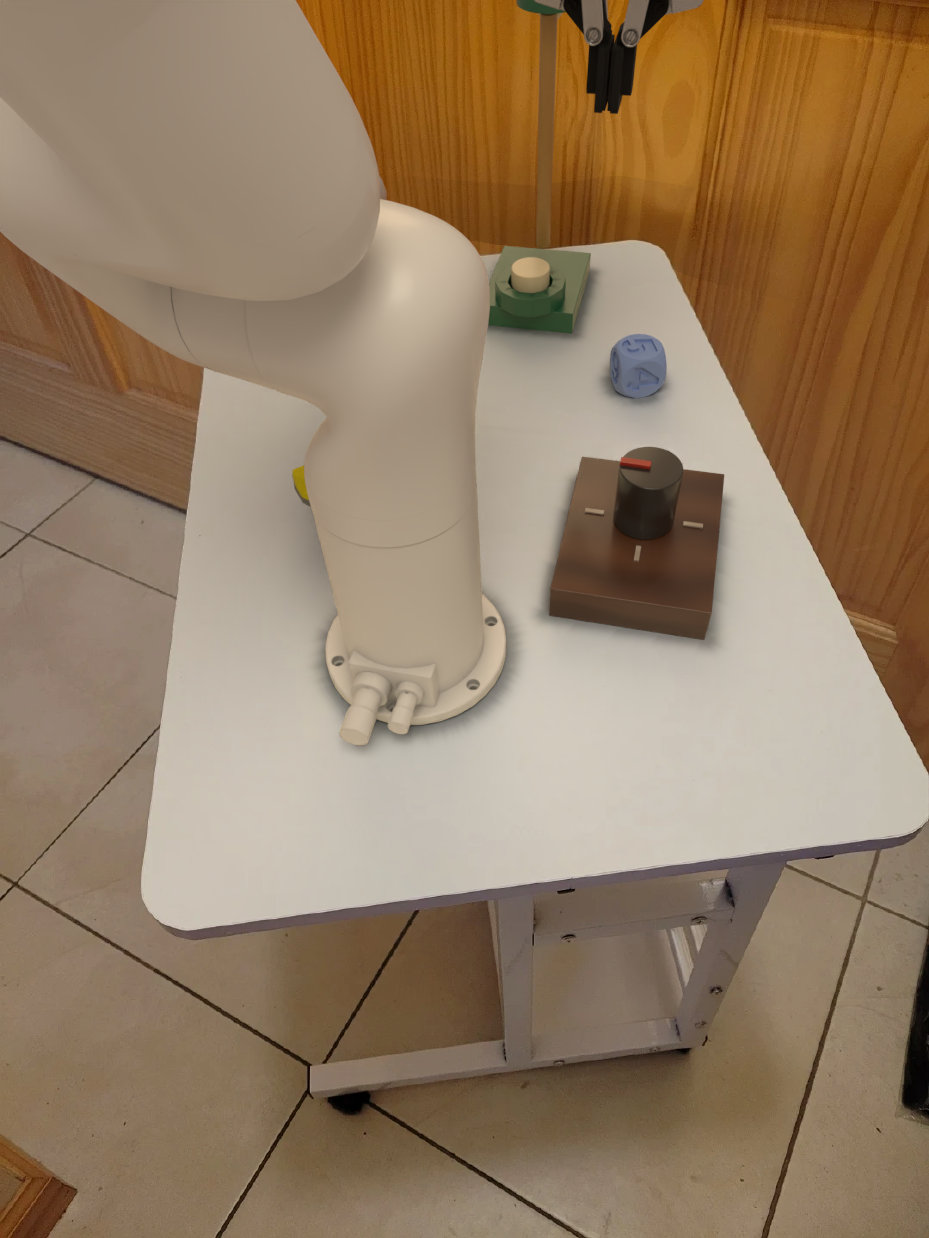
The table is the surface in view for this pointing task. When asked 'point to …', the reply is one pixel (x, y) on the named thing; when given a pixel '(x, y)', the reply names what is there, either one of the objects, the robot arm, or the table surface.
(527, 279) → the lamp switch
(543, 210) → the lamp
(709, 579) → the dimmer panel
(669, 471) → the dimmer knob
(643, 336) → the decorative dice
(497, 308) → the lamp base
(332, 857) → the table surface
